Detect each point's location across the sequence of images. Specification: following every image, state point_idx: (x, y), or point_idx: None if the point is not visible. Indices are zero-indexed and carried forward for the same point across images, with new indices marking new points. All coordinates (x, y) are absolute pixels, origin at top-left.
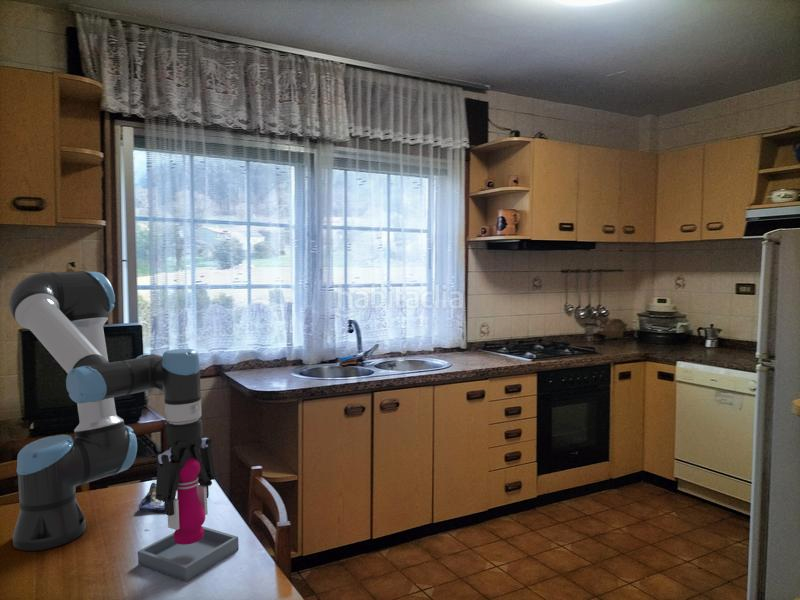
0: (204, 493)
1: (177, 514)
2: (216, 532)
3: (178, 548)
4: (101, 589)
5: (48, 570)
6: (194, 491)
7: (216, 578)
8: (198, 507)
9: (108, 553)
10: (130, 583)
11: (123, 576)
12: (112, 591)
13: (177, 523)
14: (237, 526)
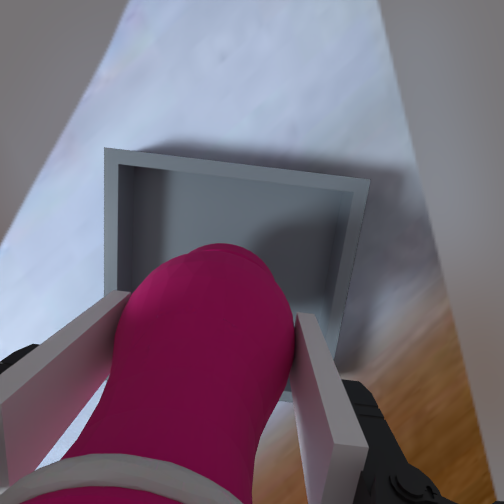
0: (43, 364)
1: (322, 357)
2: (116, 254)
3: None
4: (447, 373)
5: None
6: (144, 413)
7: (306, 97)
8: (181, 302)
9: (294, 482)
10: (403, 327)
11: (378, 369)
12: (449, 341)
13: (313, 328)
14: (9, 263)
